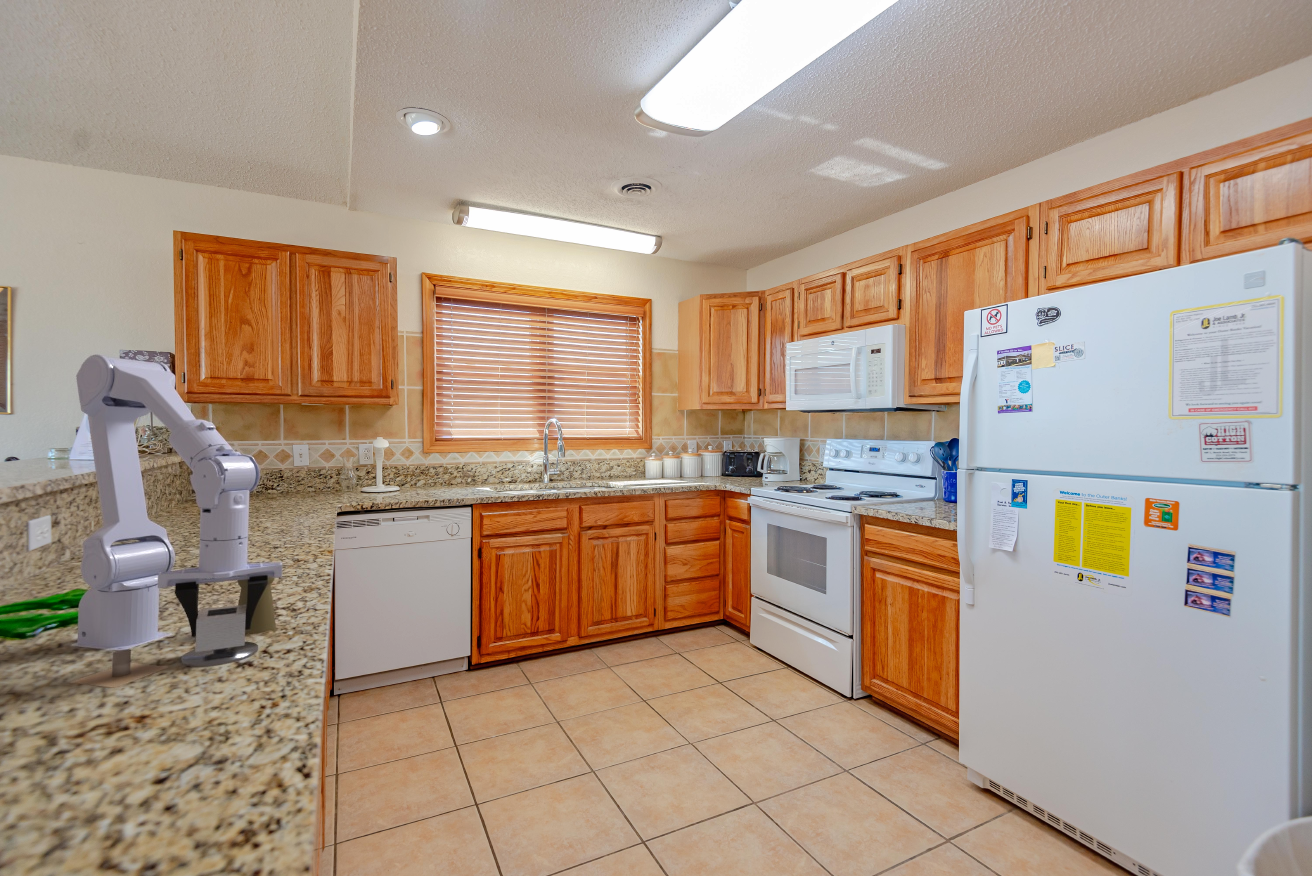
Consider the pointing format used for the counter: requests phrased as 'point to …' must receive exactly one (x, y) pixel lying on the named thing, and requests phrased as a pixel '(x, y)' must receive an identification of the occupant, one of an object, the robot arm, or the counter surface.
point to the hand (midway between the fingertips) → (221, 631)
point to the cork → (259, 609)
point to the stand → (120, 671)
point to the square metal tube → (220, 628)
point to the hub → (219, 655)
